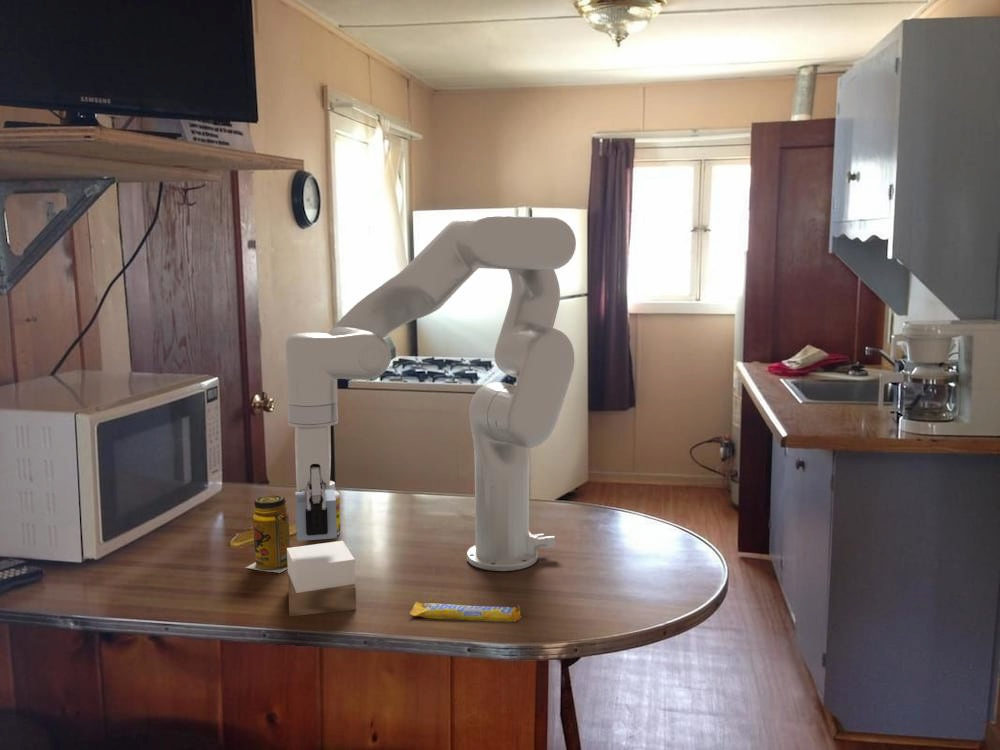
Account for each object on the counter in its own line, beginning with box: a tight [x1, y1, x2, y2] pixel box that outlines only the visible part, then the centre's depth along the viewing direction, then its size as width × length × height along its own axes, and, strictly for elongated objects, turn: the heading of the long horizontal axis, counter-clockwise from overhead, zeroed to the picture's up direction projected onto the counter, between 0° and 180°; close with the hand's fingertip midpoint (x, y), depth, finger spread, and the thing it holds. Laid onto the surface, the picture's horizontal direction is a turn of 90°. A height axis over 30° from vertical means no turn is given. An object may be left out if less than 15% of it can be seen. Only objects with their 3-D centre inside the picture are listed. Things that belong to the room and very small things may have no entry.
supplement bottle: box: [328, 480, 341, 536], centre depth 165 cm, size 6×6×10 cm
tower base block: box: [287, 574, 357, 617], centre depth 135 cm, size 10×10×4 cm
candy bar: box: [409, 601, 522, 623], centre depth 130 cm, size 17×4×2 cm, turn 83°
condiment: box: [244, 494, 291, 574], centre depth 150 cm, size 7×8×12 cm
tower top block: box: [287, 540, 356, 593], centre depth 135 cm, size 9×9×4 cm
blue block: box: [294, 490, 338, 542], centre depth 133 cm, size 6×6×6 cm
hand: (316, 526), depth 133 cm, fingers closed on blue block, 6 cm apart
